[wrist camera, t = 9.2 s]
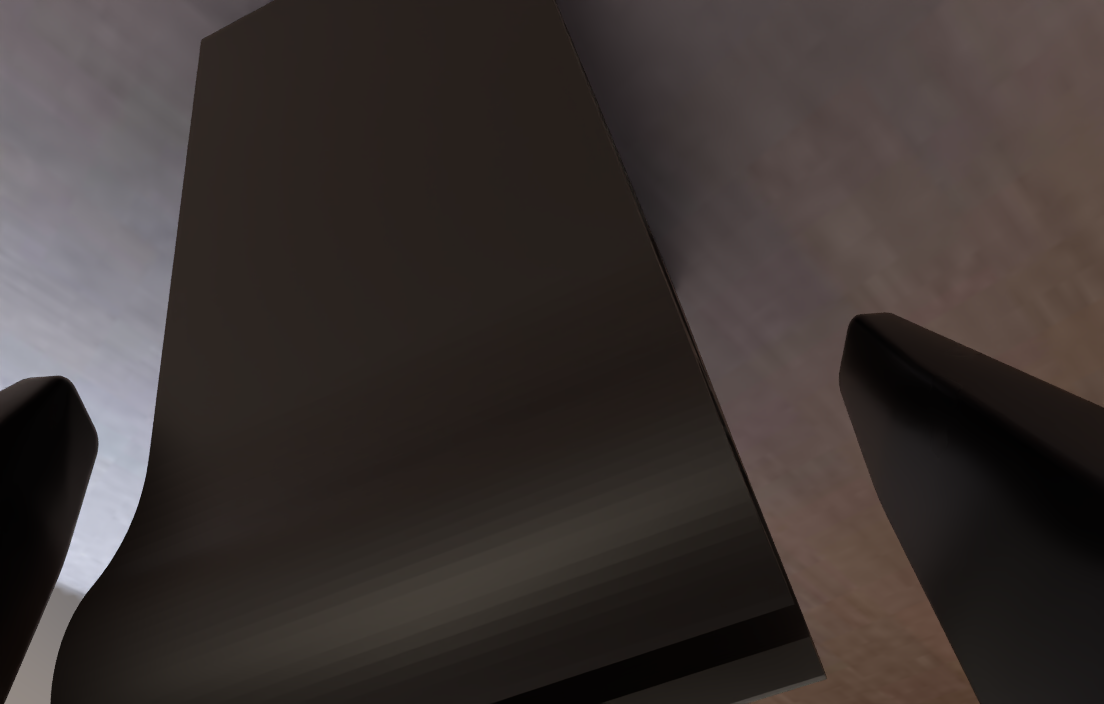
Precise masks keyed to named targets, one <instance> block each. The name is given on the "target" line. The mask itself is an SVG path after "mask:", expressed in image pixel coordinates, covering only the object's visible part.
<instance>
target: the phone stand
mask: <svg viewBox="0 0 1104 704" xmlns="http://www.w3.org/2000/svg"><path fill="white" fill-rule="evenodd" d="M825 679H827V677H826V674H825V671H824V669H823V666H822V663H821V661H820V658H819V655H818V653H817V650H816V648H815V645H814V642H813V640H812V637H811V635H810V632H809V630H808V627H807V624H806V622H805V619H804V617H803V614H802V612H801V609H800V607H799V604H798V602H797V599H796V597H795V594H794V592H793V589H792V587H791V584H790V582H789V579H788V577H787V574H786V572H785V569H784V567H783V564H782V562H781V559H780V557H779V554H778V552H777V549H776V547H775V544H774V542H773V539H772V537H771V534H770V532H769V529H768V527H767V524H766V522H765V519H764V517H763V514H762V512H761V509H760V507H759V504H758V502H757V499H756V496H755V494H754V491H753V489H752V486H751V484H750V481H749V479H748V476H747V474H746V471H745V469H744V466H743V463H742V461H741V458H740V456H739V453H738V450H737V448H736V445H735V443H734V440H733V438H732V435H731V432H730V430H729V427H728V425H727V422H726V419H725V417H724V414H723V412H722V409H721V406H720V404H719V401H718V399H717V396H716V394H715V391H714V388H713V386H712V383H711V381H710V378H709V375H708V373H707V370H706V368H705V365H704V363H703V360H702V357H701V355H700V352H699V350H698V347H697V344H696V342H695V339H694V337H693V334H692V331H691V329H690V326H689V324H688V321H687V319H686V316H685V313H684V311H683V308H682V306H681V303H680V301H679V298H678V296H677V293H676V291H675V288H674V286H673V283H672V281H671V279H670V276H669V274H668V271H667V269H666V267H665V264H664V262H663V259H662V257H661V254H660V252H659V250H658V247H657V245H656V242H655V240H654V238H653V235H652V233H651V230H650V228H649V226H648V223H647V221H646V218H645V216H644V213H643V211H642V209H641V206H640V204H639V201H638V199H637V197H636V194H635V192H634V189H633V187H632V184H631V182H630V180H629V177H628V175H627V172H626V170H625V168H624V165H623V163H622V160H621V158H620V156H619V153H618V151H617V148H616V146H615V143H614V141H613V139H612V136H611V134H610V131H609V129H608V127H607V124H606V122H605V119H604V117H603V115H602V112H601V110H600V107H599V105H598V102H597V100H596V98H595V95H594V93H593V90H592V88H591V86H590V83H589V81H588V78H587V76H586V73H585V71H584V69H583V66H582V64H581V61H580V59H579V57H578V54H577V52H576V49H575V47H574V45H573V42H572V40H571V37H570V35H569V32H568V30H567V28H566V25H565V23H564V20H563V18H562V16H561V13H560V11H559V8H558V6H557V3H556V1H555V0H274V1H272V2H270V3H269V4H267V5H265V6H263V7H261V8H259V9H257V10H256V11H254V12H252V13H250V14H248V15H246V16H244V17H243V18H241V19H239V20H237V21H235V22H233V23H231V24H230V25H228V26H226V27H224V28H222V29H220V30H218V31H216V32H215V33H213V34H211V35H209V36H207V37H205V38H203V39H202V40H201V46H200V54H199V62H198V70H197V78H196V86H195V94H194V102H193V110H192V118H191V126H190V134H189V142H188V150H187V158H186V166H185V174H184V182H183V190H182V198H181V206H180V214H179V222H178V230H177V238H176V246H175V254H174V262H173V270H172V278H171V286H170V294H169V302H168V310H167V318H166V326H165V334H164V342H163V350H162V358H161V366H160V374H159V382H158V390H157V398H156V406H155V414H154V422H153V430H152V438H151V446H150V454H149V461H148V467H147V473H146V478H145V482H144V487H143V490H142V494H141V497H140V501H139V504H138V507H137V510H136V512H135V515H134V518H133V520H132V522H131V525H130V527H129V529H128V532H127V534H126V536H125V537H124V539H123V541H122V543H121V545H120V547H119V549H118V550H117V552H116V554H115V555H114V557H113V559H112V560H111V562H110V563H109V565H108V566H107V568H106V569H105V570H104V572H103V573H102V575H101V576H100V577H99V578H98V580H97V581H96V582H95V584H94V585H93V586H92V587H91V589H90V590H89V591H88V592H87V594H86V595H85V596H84V598H83V599H82V601H81V602H80V604H79V606H78V607H77V609H76V611H75V612H74V614H73V616H72V618H71V620H70V622H69V625H68V627H67V629H66V632H65V634H64V637H63V640H62V642H61V646H60V649H59V652H58V656H57V660H56V665H55V669H54V674H53V681H52V690H51V704H747V703H750V702H754V701H757V700H760V699H763V698H767V697H770V696H773V695H776V694H780V693H783V692H786V691H789V690H793V689H796V688H799V687H802V686H806V685H809V684H812V683H815V682H819V681H822V680H825Z"/></svg>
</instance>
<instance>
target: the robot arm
mask: <svg viewBox="0 0 1104 704" xmlns="http://www.w3.org/2000/svg"><path fill="white" fill-rule="evenodd" d="M839 386H840V391H841V395H842V397H843V400H844V403H845V406H846V409H847V412H848V414H849V417H850V420H851V423H852V426H853V429H854V431H855V434H856V437H857V440H858V443H859V446H860V448H861V451H862V454H863V457H864V460H865V463H866V465H867V468H868V471H869V474H870V477H871V480H872V482H873V485H874V487H875V490H876V493H877V495H878V498H879V500H880V502H881V504H882V507H883V509H884V511H885V513H886V515H887V517H888V519H889V521H890V523H891V525H892V527H893V529H894V531H895V533H896V535H897V537H898V539H899V541H900V543H901V545H902V547H903V549H904V551H905V554H906V556H907V558H908V560H909V562H910V564H911V566H912V568H913V570H914V572H915V574H916V576H917V578H918V580H919V582H920V584H921V586H922V588H923V590H924V592H925V594H926V596H927V598H928V600H929V602H930V604H931V606H932V608H933V610H934V612H935V614H936V616H937V618H938V620H939V622H940V624H941V626H942V628H943V630H944V632H945V634H946V636H947V638H948V640H949V642H950V644H951V646H952V648H953V650H954V652H955V654H956V656H957V658H958V660H959V662H960V664H961V666H962V668H963V670H964V672H965V674H966V676H967V678H968V680H969V682H970V684H971V686H972V688H973V690H974V692H975V694H976V696H977V698H978V701H979V703H980V704H1104V408H1103V407H1101V406H1099V405H1096V404H1094V403H1092V402H1090V401H1087V400H1085V399H1083V398H1081V397H1078V396H1076V395H1074V394H1072V393H1070V392H1067V391H1065V390H1063V389H1061V388H1058V387H1056V386H1054V385H1052V384H1049V383H1047V382H1045V381H1043V380H1040V379H1038V378H1036V377H1034V376H1031V375H1029V374H1027V373H1025V372H1022V371H1020V370H1018V369H1016V368H1013V367H1011V366H1009V365H1007V364H1004V363H1002V362H1000V361H998V360H995V359H993V358H991V357H989V356H986V355H984V354H982V353H980V352H977V351H975V350H973V349H971V348H968V347H966V346H964V345H962V344H960V343H957V342H955V341H953V340H951V339H948V338H946V337H944V336H942V335H939V334H937V333H935V332H933V331H930V330H928V329H926V328H924V327H921V326H919V325H917V324H915V323H912V322H910V321H908V320H906V319H903V318H901V317H899V316H897V315H894V314H892V313H886V312H883V313H871V314H860V315H856V316H855V317H854V318H853V319H852V320H851V322H850V324H849V326H848V330H847V335H846V340H845V346H844V351H843V356H842V361H841V366H840V372H839ZM97 452H98V436H97V432H96V429H95V427H94V425H93V423H92V421H91V419H90V417H89V415H88V413H87V411H86V408H85V406H84V404H83V402H82V400H81V398H80V396H79V394H78V392H77V390H76V388H75V386H74V385H73V383H72V382H71V381H70V380H69V379H67V378H65V377H63V376H46V377H32V378H27V379H23V380H21V381H19V382H17V383H15V384H13V385H11V386H9V387H7V388H6V389H4V390H2V391H0V704H4V703H5V700H6V698H7V696H8V694H9V691H10V689H11V687H12V684H13V682H14V680H15V677H16V675H17V673H18V670H19V668H20V666H21V663H22V661H23V659H24V656H25V654H26V652H27V650H28V647H29V645H30V642H31V640H32V638H33V635H34V633H35V631H36V629H37V626H38V624H39V622H40V619H41V617H42V615H43V612H44V610H45V607H46V605H47V603H48V601H49V598H50V596H51V594H52V591H53V589H54V587H55V584H56V582H57V579H58V577H59V574H60V572H61V569H62V567H63V564H64V561H65V558H66V555H67V552H68V549H69V546H70V542H71V539H72V536H73V533H74V529H75V526H76V523H77V519H78V516H79V513H80V509H81V506H82V503H83V499H84V496H85V493H86V489H87V486H88V483H89V479H90V476H91V473H92V469H93V466H94V463H95V459H96V456H97Z"/></svg>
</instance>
